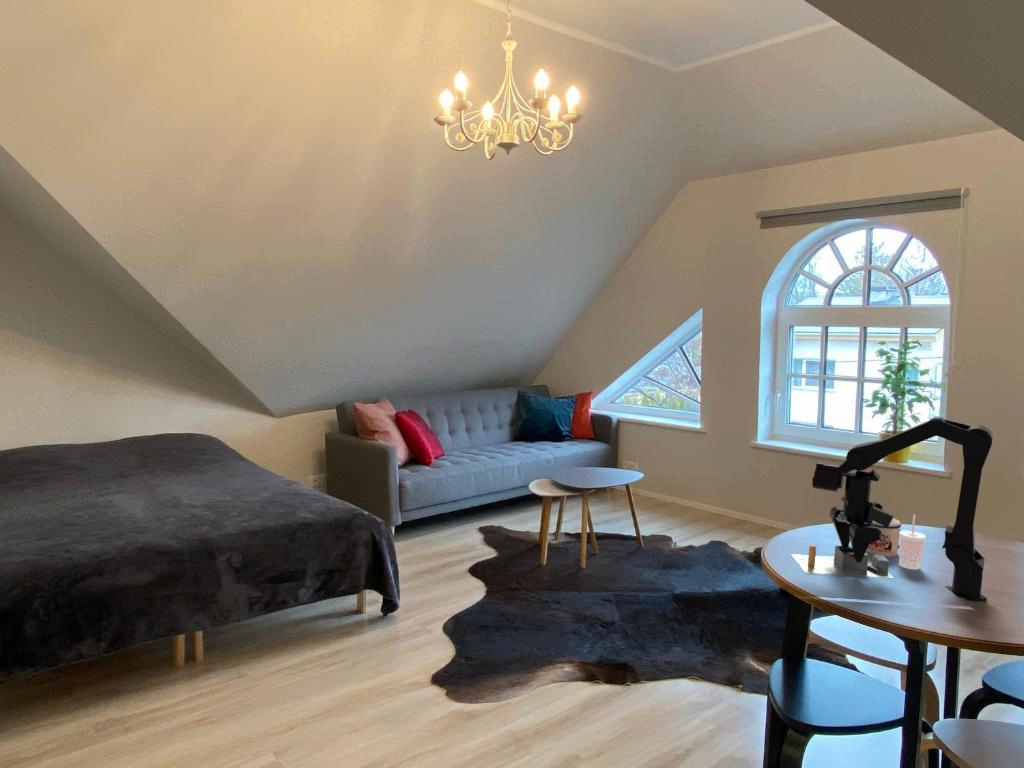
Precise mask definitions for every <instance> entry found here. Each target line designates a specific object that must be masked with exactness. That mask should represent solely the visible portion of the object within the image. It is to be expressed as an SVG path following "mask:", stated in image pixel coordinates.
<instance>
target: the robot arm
mask: <svg viewBox="0 0 1024 768" xmlns="http://www.w3.org/2000/svg"><path fill="white" fill-rule="evenodd" d="M934 437H940V438H942V439H945V440H947V441H949V442H952V443H954V444H957V445H961V446H962V457H963V459H962V460H963V471H962V479H961V483H960V484H961V485H960V491H959V497H958V504H957V511H956V516H955V517H956V518H955V522H954V524H953V526H951V525H946V527H945V530H944V541H943V544H942V547H941V548H942V549H945V551H944V552H945V557H946V558H947V559H948V560H949V561H950V562H951V563H953V574H952V575H953V576H952V584H951V585H945V586H944V587H945V588H946V589H947V590H949V591H950V592H951V594H954V595H955V596H956V597H958V598H964V599H965V600H973V601H987V600H988V598H987V597H986V596H985V595H983V594H982V593H981V592H982V585H983V575H984V570H985V569H984V568H985V557H984V556H983V555H982V554H981V553H980V552H979V551H978V550H977V549H976V535H975V534H976V533H975V518H976V517H975V516H976V511H977V505H978V498H979V494H980V493H979V492H980V485H981V478H982V473H983V468H984V465H985V463H986V460H987V458H988V456H989V454H990V453H989V452H990V450H991V447H992V445H993V439H994V435H993V433H992V431H991V430H990V429H989V428H988V427H986V426H985V425H981V424H975V425H968V424H965V423H962V422H956V421H952V420H949V419H946V418H943V417H941V416H935V417H931V418H930V419H929V420H927V421H924V422H922V423H920V424H917V425H915V426H913V427H911V428H907V429H906V430H903V431H901V432H897V433H895V434H893V435H891V436H888V437H886V438H883V439H879V440H878V439H877V440H873V441H869V442H868V441H867V442H863V443H859V444H856V445H854V446H853V447H851V449H849V450H848V452H847V453H846V457H845V461H842V462H841V463H840V464H839V465H837V464H829V463H825V462H821V461H817V463H816V465H815V470H814V473H813V476H812V481H811V482H812V489H816V490H821V491H828V492H835V493H838V491H839V489H840V490H842V489H843V488H844V495H841V498H840V499H841V501H842V502H843V505H842V506H833V507H832V508H830V512H829V517H830V518H831V521H832V523H833V526H834V528H835V531H836V534H837V537H838V539H839V542H840V546H851V547H852V549H853V553H854V557H855V560H856V562H861V561H862V559H863V557H864V554H865V552H866V550H867V548H868V546H869V545H870V544H871V543H873V542H877V541H878V540H881V533H882V532H881V531H880V530H879V529H878V528H877V527H876V526H874V525H873V524H865V522H867V523H873V521H874V522H877V523H879V524H882V525H883V526H884V527H887V528H888V527H889V525H890V523H891V521H892V519H893V518H894V517H895V516H894V515H893V514H891V513H890V512H888V511H887V512H886V509H885V510H884V509H883V505H882V504H880V503H878V501H873V502H872V501H871V500H870V499H871V497H870V496H871V485H872V481H873V482H878V481H880V479H881V476H880V475H879V474H878V473H877V472H876V470H875V469H872V470H871V471H865V470H867V469H868V468H870V467H872V466H873V465H875V464H876V463H877V464H878V462H880V461H881V460H882V459H884V458H886V457H887V456H889V455H891V454H894V453H896V452H898V451H901V450H903V449H904V450H905V449H906V448H909V447H911V446H914V445H916V444H919V443H921V442H924V441H926V440H929V439H932V438H934ZM852 471H856V472H852ZM844 483H845V484H844ZM844 486H845V487H844ZM866 553H867V552H866Z"/></svg>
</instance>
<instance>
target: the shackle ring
mask: <svg viewBox="0 0 1024 768" xmlns="http://www.w3.org/2000/svg"><path fill="white" fill-rule="evenodd" d="M833 557H834V563H835V564H836V565H837V566H838V568H839V569H840V570H841V571H847V572H863V573H867V567H868V559H869V553H868V552H865V554H864V557H863V559H862V561H861V562H856V560H855V557H854V553H853V549H852V545H849V546H842V545H835V548H834V556H833Z"/></svg>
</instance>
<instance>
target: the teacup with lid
mask: <svg viewBox="0 0 1024 768" xmlns="http://www.w3.org/2000/svg"><path fill="white" fill-rule="evenodd" d="M885 511H886V510H885ZM886 512H888V511H886ZM865 524H873V525H874V526H876V527H877V528H878V529H879V530H880V531H881V532H882V533H881V540H878V541H877V542H873V543H871V544H870V545H869V546H868V548H867V550H866V553H867V554H871V555H883V556H884V557H895V556H897V555H898V554H899V553H898V550H900V536H899V532H900V531H903V530H904V529H901V527H902V523H901V521H900V520H898V519H896V518H894V517H893V519H892V521H891V523H890V525H889V527H888V528H887V527H884V526H883V525H882V524H879V523H877V522H874V521H873V523H867V522H865Z"/></svg>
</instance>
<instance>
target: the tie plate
mask: <svg viewBox="0 0 1024 768" xmlns="http://www.w3.org/2000/svg"><path fill="white" fill-rule="evenodd" d="M790 555H791V557H793V559H794V560H795V561H796V562H797V564H798V565H799V566H800V568H801V569H802V570H803V572H805V573H806V574H820V575H822V574H823V575H839V576H854V577H855V576H856V577H868V578H882V579H883V578H884V579H885V578H886V579H895V577H894V576H893V575H892V574H891V573H890V572H889V565H890V560H889V559H887V558H886V556H883V555H874V554H872V558H868V567H867V573H863V572H847V571H841V570H840V569H839V568H838V566H837V565H836V564H835V563H834V556H830V555H829V556H827V555H816V556H815V566H809V565H808V558H809V554H799V553H798V554H795V553H794V554H793V553H791V554H790Z"/></svg>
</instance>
